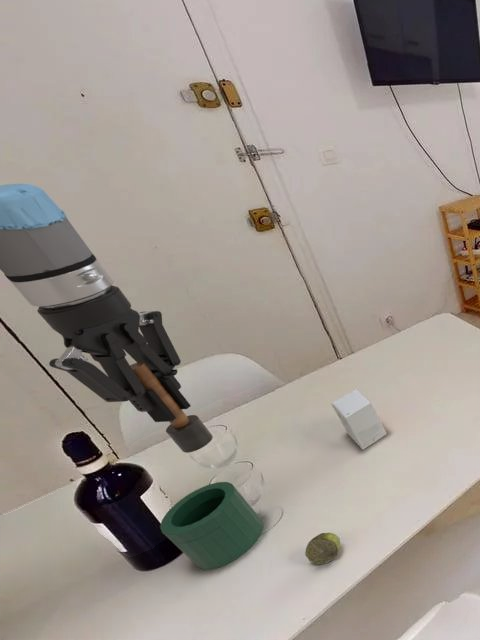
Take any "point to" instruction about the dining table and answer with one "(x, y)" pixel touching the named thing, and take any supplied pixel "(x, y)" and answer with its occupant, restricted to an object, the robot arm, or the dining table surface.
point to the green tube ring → (212, 525)
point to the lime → (323, 548)
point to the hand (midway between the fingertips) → (173, 413)
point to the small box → (359, 418)
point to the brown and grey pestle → (175, 414)
